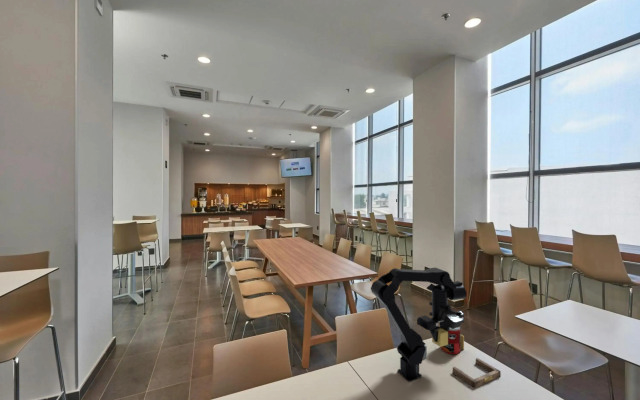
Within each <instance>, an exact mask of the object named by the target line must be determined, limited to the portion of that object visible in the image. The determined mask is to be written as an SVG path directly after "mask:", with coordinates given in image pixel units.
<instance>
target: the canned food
mask: <svg viewBox="0 0 640 400" xmlns="http://www.w3.org/2000/svg"><path fill="white" fill-rule="evenodd" d="M460 334H461V326H460V327H457V328H455V329H451V328H450V329H449V331H448V345H445V346H442V347H440V348H441V350H442V351H443V352H445V353H446V354H449V355H459V354H460V352H461V348H460Z"/></svg>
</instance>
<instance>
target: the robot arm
mask: <svg viewBox="0 0 640 400" xmlns="http://www.w3.org/2000/svg"><path fill="white" fill-rule="evenodd" d="M450 275H451V274H450V273H449V272H448V271H447V270H444V269H441V268H438V267H430V268H427V269H405V268H404V269H403V268H397V267H396V268H394V267H393V268H392V269H391V270H389V272H387V273H385V274H383V275H381V276H380V277H379V278H377V280H375V281H373V282H372V284H371V286H370V291H371V293H372V294H373V296H375V297H376V298H377V299H378V301H379V302H380V303H381V304H382V306H384V308H385V310H386V311H387V313H388V315H389V317H390V319H391V320H392V322H393V323H394V325H395V327H396V328H397V330H398V333H400V340H401V342H400V344H399V345H398V346H397V347H396V351H397V352H398V354H399V355H400V356H401V357H399V359H400V360H399V363H400V364H399V365H400V366H399V368H398V369H397V372H398V373H399V374H400V375H401V376H402V378H404V379H405V380H407V382H412V381H415V380H417V379H420V378H422V377H423V376H422V375H423V374H421V373H420V365H421V364H422V363H423V360H424V359H423V356H424V353H425V350H426V348H425V345H426V346H427V344H426V342H424V341H423V338H422V336H421V334H419V333H418V332H417V331H416V330H414V329H413V328H412V327H410V326H409V323H408V322H407V320H406V319H405V317H404V315H403V313H402V311H401V310H400V308H399V306H398V305H397V303H396V295H395V293H397V291H398V290H399V287H400V286H401V283H403V282H421V283H422V282H424V283H429V285H428V286H427V287H426V290H428V291H430V292H431V301H429V305H430V306H431V311H430V312H429V316H431V317H429V316H427V315H421V316H418V317H417V318H416V325H418V326H419V327H421V328H423V329H425V330H426V331H429V332H430V334H431V338H432V337H433V339H434V341H435V342H437V341H438V330H439V329H441V328H442V329H444V330H445V331H447V332H448V331H449V329H450V328H451V329H455V328H457V327H460V328H461V325H462V324H463V323H465V315H464V313H463V312H462V311H457V310H454V309H452V307H451V304H448V303H449V301H456V300H463V299H466V298H467V295H468V293H467V290H466V288H465V286H464V285H463V282H462V281H459V280H456V281H453V280H452V278H451V276H450ZM448 300H449V301H448Z"/></svg>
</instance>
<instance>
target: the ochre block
mask: <svg viewBox="0 0 640 400" xmlns="http://www.w3.org/2000/svg"><path fill="white" fill-rule="evenodd" d="M431 338H432V339H431V340H432V341H431V342H432V343H433V344H434V345H437V346H438V347H440V348H441V347H442V346H445V345H448V332H447V331H445V330H444V329H442V328H441V329H439V330H438V341H437V342H435V341H434V339H433V337H432V336H431Z"/></svg>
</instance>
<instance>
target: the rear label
mask: <svg viewBox="0 0 640 400" xmlns="http://www.w3.org/2000/svg"><path fill="white" fill-rule="evenodd" d="M461 349H462V350H463V351H464V350H465V336H464V335H463V334H461V333H460V350H461Z"/></svg>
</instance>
